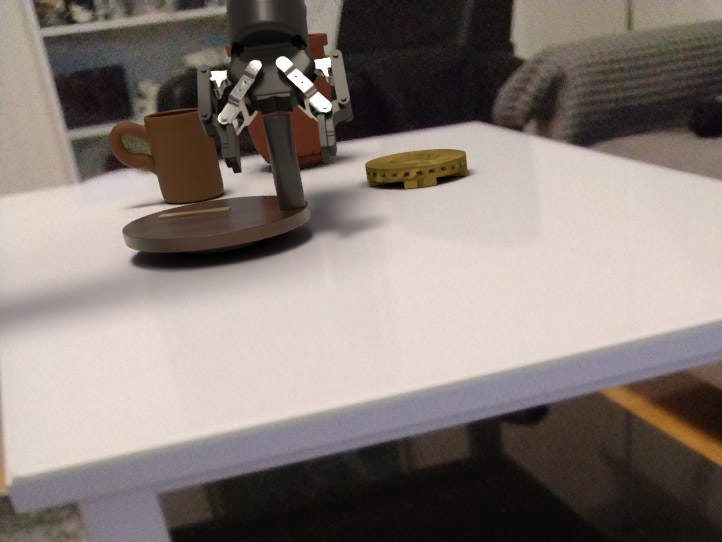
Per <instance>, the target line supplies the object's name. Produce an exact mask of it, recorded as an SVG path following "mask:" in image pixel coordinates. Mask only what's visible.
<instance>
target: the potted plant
mask: <svg viewBox="0 0 722 542" xmlns="http://www.w3.org/2000/svg"><path fill="white" fill-rule="evenodd" d="M334 2H335V3H336V5H337V6H338V7H339V8H340V9H341V7H340V6H339V4H338V2H337V1H336V0H334ZM226 16H227V11H226V12H225V14H224V17H226ZM308 38H309V47H310V55H311V56H312V57H313V59H314V60H319V59H325V58H326V53H325V52H326V51H325V46H328V45H329V42H328V41H329V40H328V33H326V32H317V33H308ZM224 48H225V52H226V57H228V58H231V54H230V43H229V44H226V45H224ZM313 85H314V86H315V87H316V89H317V91H318V92H319V93H320V94H321V95H322V96H323V97H324V98H325V99H327V100H328V101H329V102H332V101H333V99H332V98H333V97H332V92H331V90H332V89H331V85H330V83H328V82H326V80H325V78H324V77H323V76H321V75H318V77H317V80H316V81H315V83H314V84H313ZM245 104H246V102H245ZM281 113H288V114H290V119H291V124H292V130H293V136H294V141H295V147H296V152H297V158H298V163H299V169H304V168H310V167H315V166H317V165H318V164H320V163H321V162H324V161H323V157H322V153H321V147H320V138H319V129H318V122H317V121H316V120H315V119H314V118H310V117H309V116H308V115H307V114H306V113H304V112H303V111H302V110H301V109H300V108H299V107H298V106H297V107H296V108H294V111H291V112H281V111H276V112H274V113H271V114H265V115H262V114H261V112H258V113H257V114H256V116H255V117H254V119H253V120H252V122H251V123H250V124H249V125H248V126H246V127H247V130H248V133H249V136H250V138H251V141H252V143H253V146H254V148H255V150H256V151H257V153H258V154H259V155H260V156H261V157H262V159H263V160H264V161H265V162H266V163H267V164H268V165H270V166H271V163H270V158H269V153H268V148H267V142H266V137H265V132H264V127H263V122H262V117H263V116H267V115H272V114H281Z"/></svg>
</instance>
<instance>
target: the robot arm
mask: <svg viewBox="0 0 722 542" xmlns="http://www.w3.org/2000/svg"><path fill="white" fill-rule="evenodd" d="M225 8H226V9H225V10H226V12H227V15H226V20H227V29H228V31H227V32H228V41H229V44H230V54H231V57H230V62H229V65H228V67H227V68H226V70H225V69H224V70H213V71H212V70H211V68H210V66H209V65H208V64H200V65H199V66H198V67H197V69H196V72H197V73H196V74H197V75H196V76H197V77H196V80H197V81H196V82H197V83H196V85H197V108H198V117H199V120H200V122H201V124H202V127H203V129H204V132H205V134H206V136H207V137H210V138H212V137H213V138H215V137H216V136H218V137H220V138H219V139H220V149H221V150H220V151H221V156H222V159H223V161H224V163H225V165H226V167H227V169H231V170H232V173H233V174H241V173H243V171H242V158H241V148H240V147H241V146H240V139H239V137H238V136H239V135H240V134H241V132H242V131H243V129H244V128H245V127H247V126H248V125H249V124H250V123H251V122H252V120H253V119H254V117H255V116H256V114H257V113H258V112H261V114H262V115H265V114H271V113H274V112H276V111H281V112H291V111H294V108H296V107H297V106H298V107H299V108H300V109H301V110H302V111H303V112H304V113H306V114H307V115H308V116H309V117H310V118H314V119H315V120H316V121H317V122H318V129H319V138H320V147H321V153H322V157H323V161H322V162H323V164H330V163H332V157H336V156H337V153H338V145H337V136H336V135H337V134H336V126H337V124H339V123H340V122H344V123H349V122H352V120H353V119H354V113H353V107H352V100H351V96H350V90H349V85H348V79H347V73H346V68H345V62H344V57H343V53H342V51H341V50H339V49H337V48H335V49H332V50H331V51H330V52H329V53H328V57H325V59H319V60H314V59H313V57H312V56H311V55H310V47H309V38H308V34H309V31H308V30H309V28H308V20H307V16H308V10H307V5H306V2H305V0H225ZM318 75H321V76H323V77H324V78H325V80H326V82H328V83H329V84H330V87H331V86H332V87H334V91H335V96H336V99H334V100H332V102H329V101H328V100H327V99H325V98H324V97H323V96H322V95H321V94H320V93H319V92H318V91H317V89H316V87H315V86H314V85H313V84H314V83H315V81H316V80H317V77H318ZM227 87H230V88H231V89H232V90H231V91H230V93H229V95H228V97H227V98H228V100H227V102H226V104H225V105H224V107H223V108H222V110H221V112H220V113H218V100H221V98H222V95H224V90H225V89H226V88H227ZM245 102H246V104H245Z"/></svg>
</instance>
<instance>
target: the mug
mask: <svg viewBox="0 0 722 542" xmlns="http://www.w3.org/2000/svg"><path fill="white" fill-rule="evenodd" d="M143 123H144V124H140V123H137V122H132V121H127V120H126V121H122V122H119V123H117V124H116V125H114V126H113V127H112V128H111V130H110V132H109V137H108V142H109V147H110V149H111V152H112V154H113V155H114V157H115V158H116V159H117V160H118V161H119V162H120V163H121V164H123V165H124V166H127V167H128V168H131V169H139V170H140V169H143V170H146V171H149V172H150V173H152V174H154V175H155V176H156V178H157V183H158V185H159V189H160V193H161V196H162V198H163V199H164V201H165V202H166V203H169V204H192V203H199V202H204V201H209V200H211V199H214V198H217V197H219V196H221V195H223V193H224V189H225V186H224V182H223V176H222V170H221V166H220V162H219V157H218V152H217V148H216V143H215V139H214V138H215V137H212V138H210V137H207V136H206V134H205V132H204V129H203V127H202V124H201V122H200V120H199V117H198V107H188V108H187V107H186V108H178V109H171V110H165V111H158V112H154V113H149V114H147V115H144V116H143ZM124 137H130V138H133V139H138V140H142V141H145V142H147V143H148V147H149V151H150V154H149V153H145V152H131V151H129V150H128V149H127V148H126V146H125V144H124V142H123V138H124Z"/></svg>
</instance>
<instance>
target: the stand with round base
mask: <svg viewBox="0 0 722 542" xmlns="http://www.w3.org/2000/svg"><path fill="white" fill-rule="evenodd" d="M262 122H263V127H264V132H265V137H266V142H267V148H268V153H269V158H270V163H271V165H270V168H271V173H272V177H273V178H272V179H273V183H274V189H275V193H276V194H275V195H274V194H273V195H249V196H236V197H228V198H227V197H226V198H220V199H212V200H205V201H199V202H193V203H188V204H184V205H181V206H176V207H175V206H174V207H171V208H167V209H163V210H160V211H156V212H153V213H150V214H147V215H144V216H141V217H139V218H136V219H134V220H132V221H130V222H129V223H127V224H126V225H124V226H123V228H122V229H121V233H122V236H123V240H124V243H125V246H126V247H127V248H129V249H131V250H134V251H139V252H145V253H146V252H147V253H187V254H193V255H207V254H208V255H209V254H218V253H219V254H220V253H225V252H232V251H236V250H239V249H244V248H247V247H251V246H253V245H255V244H257V243H259V242H260V241H262V240H267V239H268V238H269V239H270V238H272V237H277V236H280V235H282V234H285V233H288V232H291V231H293V230H295V229H298V228H300V227H302V226H303V225H305V224H306V223H307V222H309V220H310V219H311V210H310V206H309V205H310V204H309V202H308V201H307V200H306V198H305V191H304V187H303V182H302V175H301V168H299V163H298V158H297V152H296V147H295V141H294V136H293V130H292V124H291V119H290V114H288V113H281V114H272V115H267V116H263V117H262Z"/></svg>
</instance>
